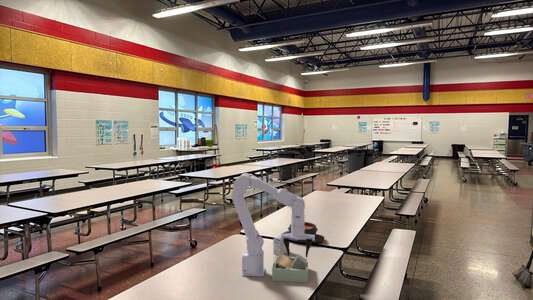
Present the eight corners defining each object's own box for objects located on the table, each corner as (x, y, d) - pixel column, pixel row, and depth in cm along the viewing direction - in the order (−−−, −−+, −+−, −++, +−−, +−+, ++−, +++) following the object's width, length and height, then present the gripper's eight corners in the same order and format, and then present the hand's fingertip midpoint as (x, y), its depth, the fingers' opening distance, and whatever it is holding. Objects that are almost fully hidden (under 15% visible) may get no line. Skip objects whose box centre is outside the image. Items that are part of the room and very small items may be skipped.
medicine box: (282, 249, 171) (282, 233, 170) (289, 251, 168) (289, 235, 167) (273, 254, 165) (273, 237, 164) (280, 256, 162) (280, 239, 161)
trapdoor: (274, 266, 137) (277, 261, 136) (276, 256, 148) (279, 251, 147) (298, 282, 136) (302, 277, 136) (298, 271, 147) (301, 266, 147)
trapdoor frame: (272, 280, 136) (272, 267, 135) (274, 266, 150) (274, 254, 149) (308, 282, 134) (308, 269, 134) (307, 268, 148) (307, 256, 148)
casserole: (328, 237, 190) (328, 223, 189) (318, 248, 173) (319, 232, 173) (288, 232, 201) (288, 218, 200) (276, 241, 184) (276, 226, 184)
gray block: (291, 267, 139) (297, 258, 139) (291, 263, 144) (297, 253, 143) (300, 273, 139) (306, 263, 138) (300, 268, 143) (306, 259, 143)
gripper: (280, 227, 137) (280, 258, 138) (315, 228, 135) (314, 260, 136) (281, 222, 144) (281, 252, 145) (314, 223, 142) (314, 253, 143)
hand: (297, 255), depth 141 cm, fingers open, 7 cm apart
